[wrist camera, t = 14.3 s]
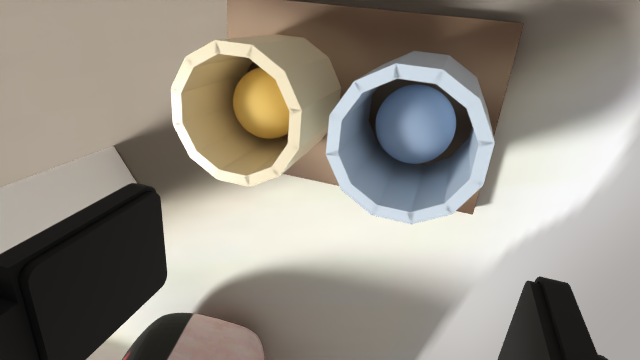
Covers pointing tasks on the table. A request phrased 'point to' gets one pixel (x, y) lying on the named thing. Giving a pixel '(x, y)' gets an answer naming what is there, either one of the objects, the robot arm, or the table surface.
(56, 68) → the table surface
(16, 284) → the robot arm
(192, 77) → the tube
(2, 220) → the milk
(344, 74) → the tube board
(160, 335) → the packaged food
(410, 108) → the ball blue
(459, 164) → the tube blue
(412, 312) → the table surface
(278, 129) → the ball ochre
